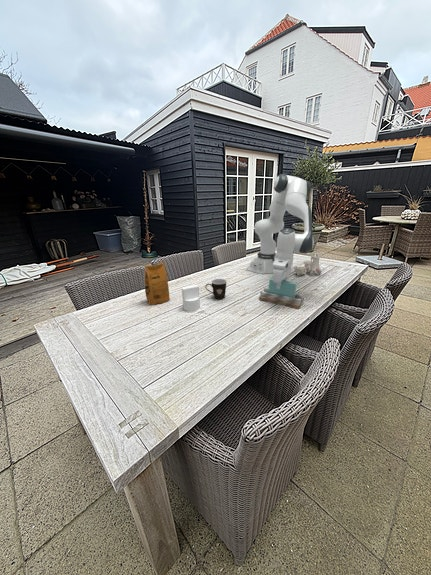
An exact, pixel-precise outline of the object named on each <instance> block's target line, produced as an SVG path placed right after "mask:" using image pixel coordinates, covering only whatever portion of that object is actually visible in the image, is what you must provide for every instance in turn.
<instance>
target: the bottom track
mask: <svg viewBox="0 0 431 575" xmlns="http://www.w3.org/2000/svg"><path fill="white" fill-rule="evenodd" d="M268 291H269V287H268V288H267V287H264V288H263V291H262V290H261V291H260V293H259V296H258V301H261V302H265V303H268V304H274V305H278V306H284V307H287V308H291V309H295V310H300V308H301V306H302V305H303V303H304V301H305V300H304V295H303V294H302V295H301V294H297V293H295V298H291V297H286V296H282V295H277V294H272V293H268Z"/></svg>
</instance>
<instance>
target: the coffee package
mask: <svg viewBox="0 0 431 575" xmlns="http://www.w3.org/2000/svg"><path fill="white" fill-rule="evenodd" d="M144 269H145V272H144V273H145V274H144V292H145V298H146V300H147V301H148V304H149V305H151V306H155V305H157V304H164V303H166V302H168V301H170V297H171V296H170V290H169V282H168V276H167V271H166V266H165V262H160V263H158V264H155V265H149V264H148V265H144Z"/></svg>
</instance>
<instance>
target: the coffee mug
mask: <svg viewBox="0 0 431 575" xmlns="http://www.w3.org/2000/svg"><path fill="white" fill-rule="evenodd" d="M227 282H228V281H227V280H226V279H224V278H216V279H213V280H211V283H206V284H205V286H204V287H205V289H206V291H208V292H209V293H212V295H213V299H214V300H219V301H220V300H224V299H225V298H226V290H227V284H228V283H227ZM208 285H209V286H210V287H211V288H212V291H211V290H209V289H208V288H207V286H208Z"/></svg>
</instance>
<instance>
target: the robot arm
mask: <svg viewBox="0 0 431 575" xmlns="http://www.w3.org/2000/svg"><path fill="white" fill-rule="evenodd" d="M311 189H312V183H311V182H310V181H309V180H306V179H304V178H300V177H299V176H294V175H288V174H285V173H280V174H278V175H277V177H276V178H275V179H274V183H273V190H274V191H275V194H274V196H273V198H272V201H271V203H270V205H269V207H268V211H269V213H270V216H268V218H263V219H260V220H258V221H256V222H255V224H254V227H253V228H254V233H255V234H256V235H257V236H258V238H259V241H260V246H259V247H260V251H259V252H258V253H257V254H256V255H257V256H256V257H255V258H254V259H253V260H251V261H250V263H249V266H247V267H246V271H248V272H251V273H252V272H253V273H257V274H261V275H263V274H264V275H265V274H272V278H273V282H274V283H276V285H277V289H280V288H281V282H282V281H283V280H286V281H287V279H288V276H289V275H290V274H291V272H292V266H293V262H294V256H295V255H294V253H301V254H308V253H309V252H311V251H312V250H313V248H314V245H315V242H314V241H315V240H314V239H315V238H314V235H313V215H312V209H311V206H310V205H308V203H307V198H308V196H309V195H310V193H311ZM286 212H287V213H288V214H290V215H292V216H294V217H296V218H299V219H300V220H302V221H303V226H304V227H303V228H304V230H303V231H304V232H303V233H296V231H295V229H293V228H289V227H288V228H287V227H285V221H284V217H285V216H284V215H285V213H286ZM284 227H285V228H284ZM277 233H278V234H277ZM273 234H277V237H276V240H274V237H273Z"/></svg>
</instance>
